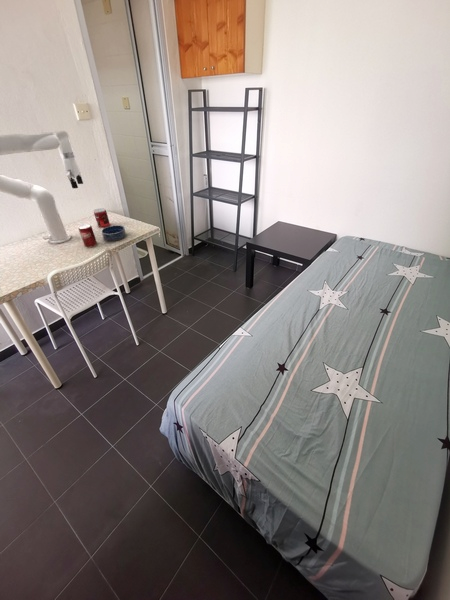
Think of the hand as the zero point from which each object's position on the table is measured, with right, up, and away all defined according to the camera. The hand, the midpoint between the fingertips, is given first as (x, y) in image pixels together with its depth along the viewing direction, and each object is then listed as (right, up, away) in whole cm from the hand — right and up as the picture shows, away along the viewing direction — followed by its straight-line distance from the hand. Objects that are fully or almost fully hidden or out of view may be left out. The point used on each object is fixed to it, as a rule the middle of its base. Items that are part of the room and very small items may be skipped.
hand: (78, 185), depth 176 cm
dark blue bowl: (+21, -31, +5) cm, 38 cm away
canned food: (+7, -19, +21) cm, 30 cm away
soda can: (+10, -38, -3) cm, 39 cm away
